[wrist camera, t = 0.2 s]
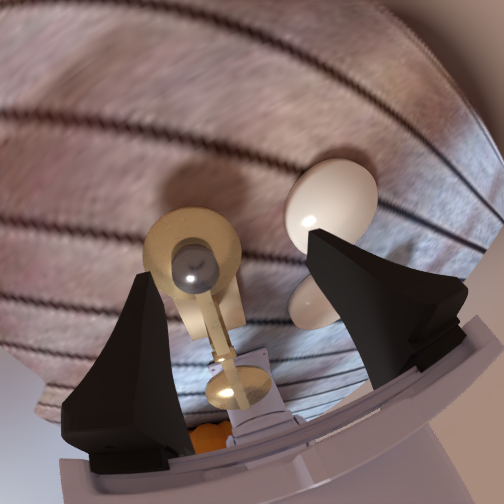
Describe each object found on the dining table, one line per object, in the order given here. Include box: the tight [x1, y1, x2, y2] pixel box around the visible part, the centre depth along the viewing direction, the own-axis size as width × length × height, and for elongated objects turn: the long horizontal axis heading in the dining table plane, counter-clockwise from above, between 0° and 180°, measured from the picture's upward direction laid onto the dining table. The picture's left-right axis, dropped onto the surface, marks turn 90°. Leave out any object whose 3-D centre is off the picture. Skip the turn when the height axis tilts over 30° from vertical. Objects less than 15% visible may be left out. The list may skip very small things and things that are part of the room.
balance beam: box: [143, 206, 272, 411], centre depth 22 cm, size 23×7×3 cm, turn 7°
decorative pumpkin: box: [188, 420, 233, 454], centre depth 39 cm, size 24×24×30 cm
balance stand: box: [172, 276, 246, 351], centre depth 24 cm, size 10×6×6 cm, turn 6°
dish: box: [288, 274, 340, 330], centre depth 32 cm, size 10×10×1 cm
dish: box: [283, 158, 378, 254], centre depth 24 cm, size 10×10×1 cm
